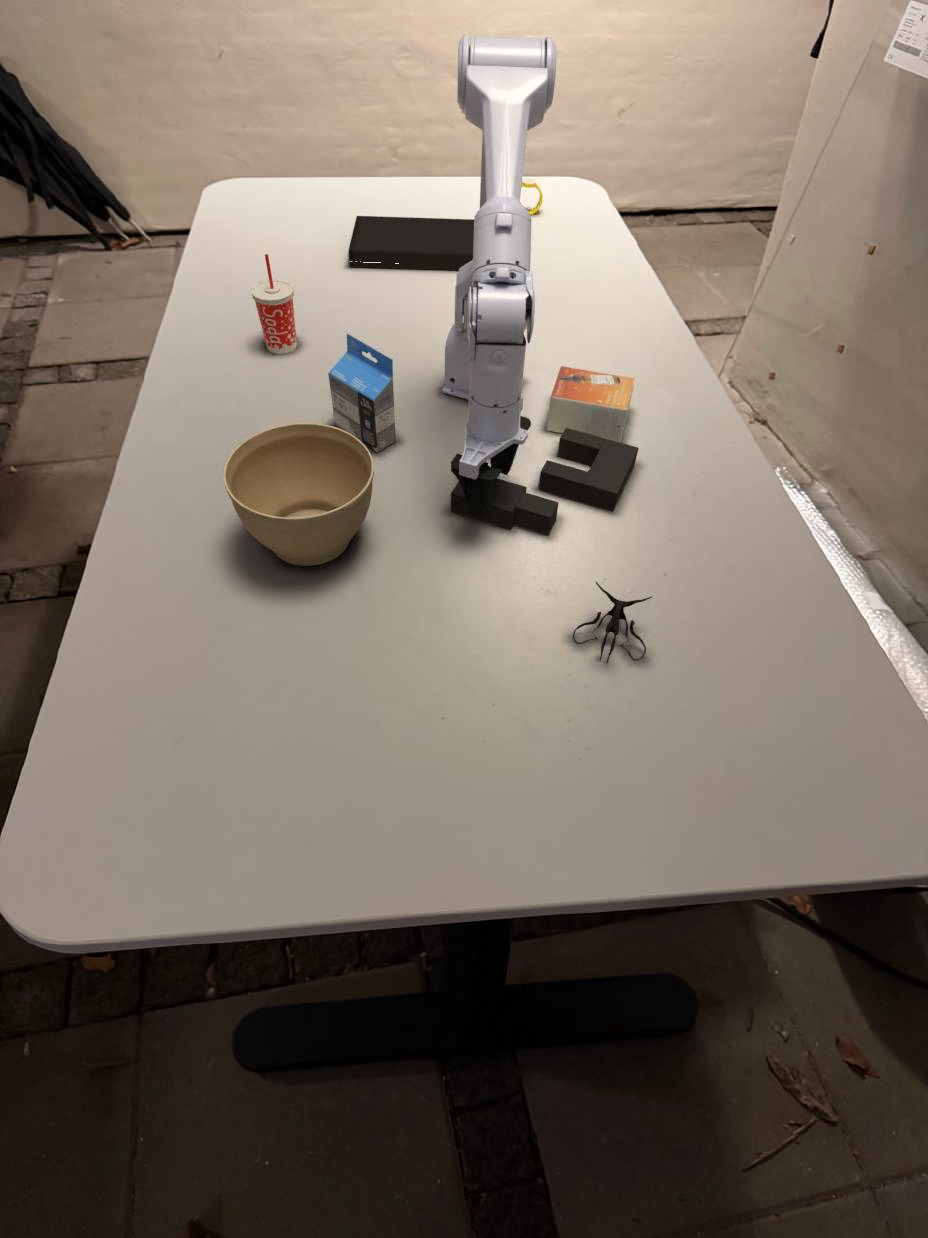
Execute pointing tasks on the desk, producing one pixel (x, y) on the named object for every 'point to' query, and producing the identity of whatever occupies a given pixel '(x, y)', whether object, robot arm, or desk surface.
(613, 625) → the creature
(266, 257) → the beverage cup
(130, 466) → the desk surface
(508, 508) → the pad
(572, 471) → the notch pad
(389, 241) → the black electronic device box
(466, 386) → the robot arm
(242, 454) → the planter bowl
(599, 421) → the small box
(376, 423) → the ink cartridge box
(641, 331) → the desk surface
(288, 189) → the desk surface
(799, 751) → the desk surface
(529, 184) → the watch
